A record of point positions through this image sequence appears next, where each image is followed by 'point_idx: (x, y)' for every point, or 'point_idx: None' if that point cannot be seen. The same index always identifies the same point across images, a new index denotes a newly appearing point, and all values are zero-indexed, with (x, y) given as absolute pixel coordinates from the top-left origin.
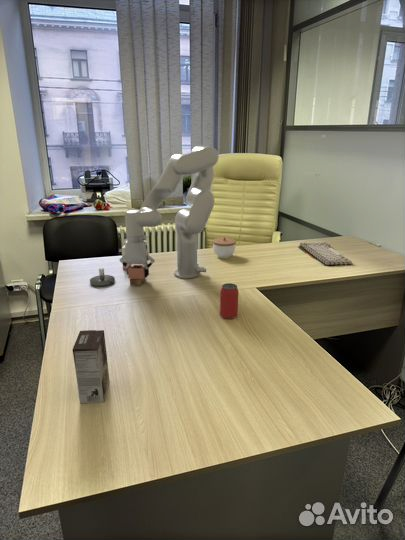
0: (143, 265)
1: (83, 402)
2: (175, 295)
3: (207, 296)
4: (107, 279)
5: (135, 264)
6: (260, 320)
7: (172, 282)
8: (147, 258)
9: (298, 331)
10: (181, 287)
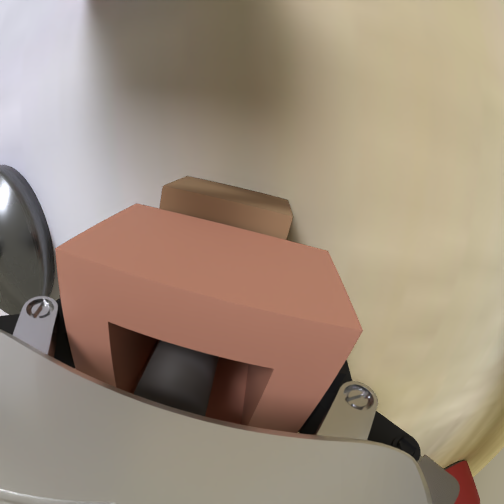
0: (282, 374)
1: None
2: (406, 431)
3: (484, 416)
4: (10, 258)
5: (113, 293)
6: (475, 463)
7: (469, 302)
8: (404, 478)
9: (484, 466)
10: (470, 365)
